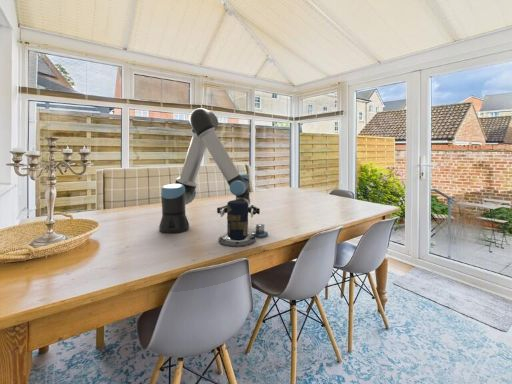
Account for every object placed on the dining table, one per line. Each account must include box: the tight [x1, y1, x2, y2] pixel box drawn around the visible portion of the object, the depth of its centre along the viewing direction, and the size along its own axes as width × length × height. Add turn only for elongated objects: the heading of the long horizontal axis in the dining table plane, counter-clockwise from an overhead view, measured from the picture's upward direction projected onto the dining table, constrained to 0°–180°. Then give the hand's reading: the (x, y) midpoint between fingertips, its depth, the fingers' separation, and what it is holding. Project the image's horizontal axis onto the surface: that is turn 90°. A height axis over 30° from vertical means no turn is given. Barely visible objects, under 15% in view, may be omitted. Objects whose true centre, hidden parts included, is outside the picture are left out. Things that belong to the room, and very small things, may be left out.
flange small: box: [251, 223, 269, 239], centre depth 143 cm, size 8×8×5 cm
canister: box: [226, 198, 249, 239], centre depth 132 cm, size 10×10×18 cm
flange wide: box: [217, 233, 256, 248], centre depth 134 cm, size 17×17×2 cm
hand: (236, 214), depth 130 cm, fingers open, 13 cm apart
